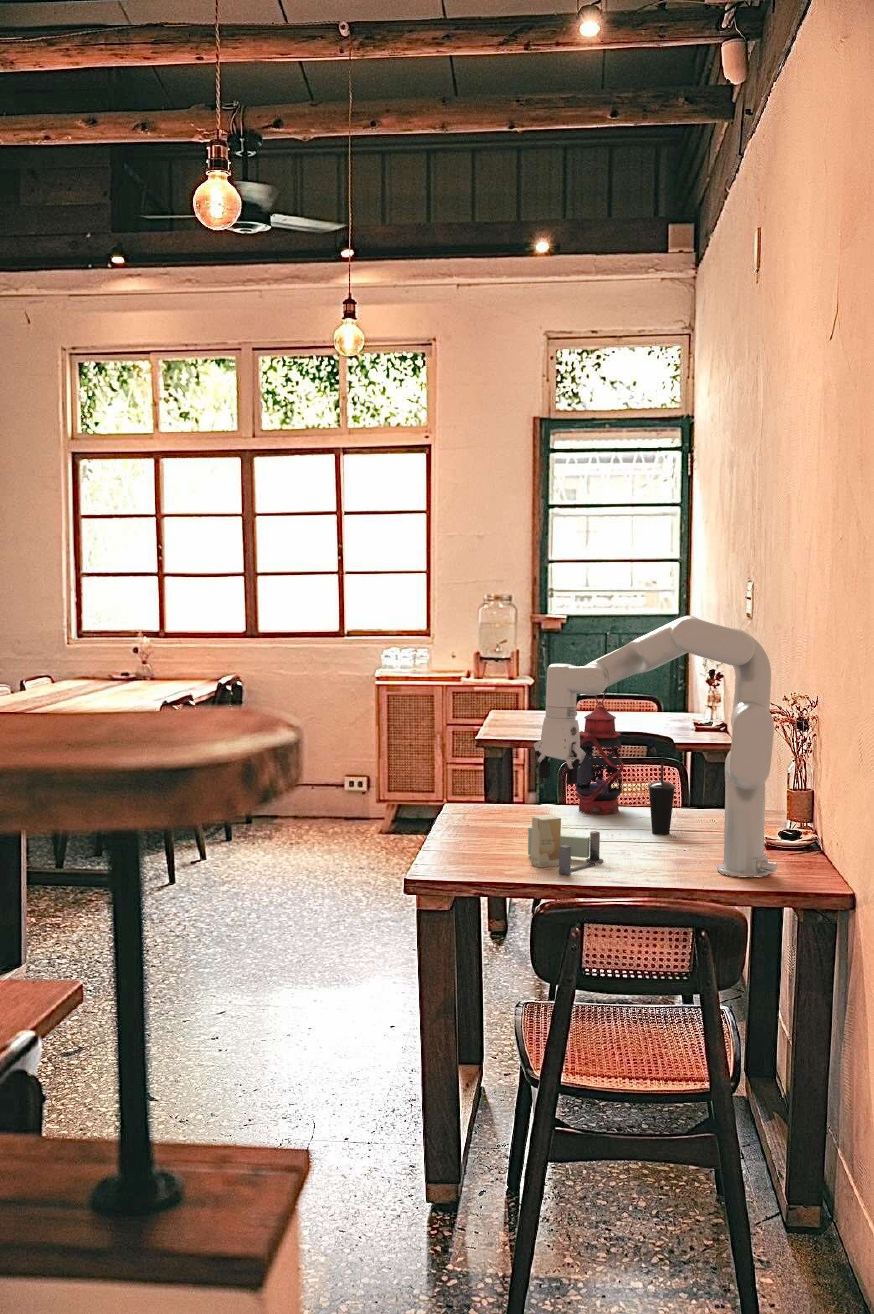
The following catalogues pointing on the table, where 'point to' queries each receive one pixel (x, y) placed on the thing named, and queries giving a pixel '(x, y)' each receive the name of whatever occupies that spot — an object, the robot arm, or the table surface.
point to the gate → (569, 844)
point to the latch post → (568, 861)
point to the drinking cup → (661, 805)
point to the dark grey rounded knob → (594, 848)
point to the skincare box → (545, 841)
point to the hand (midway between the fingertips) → (557, 781)
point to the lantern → (599, 764)
